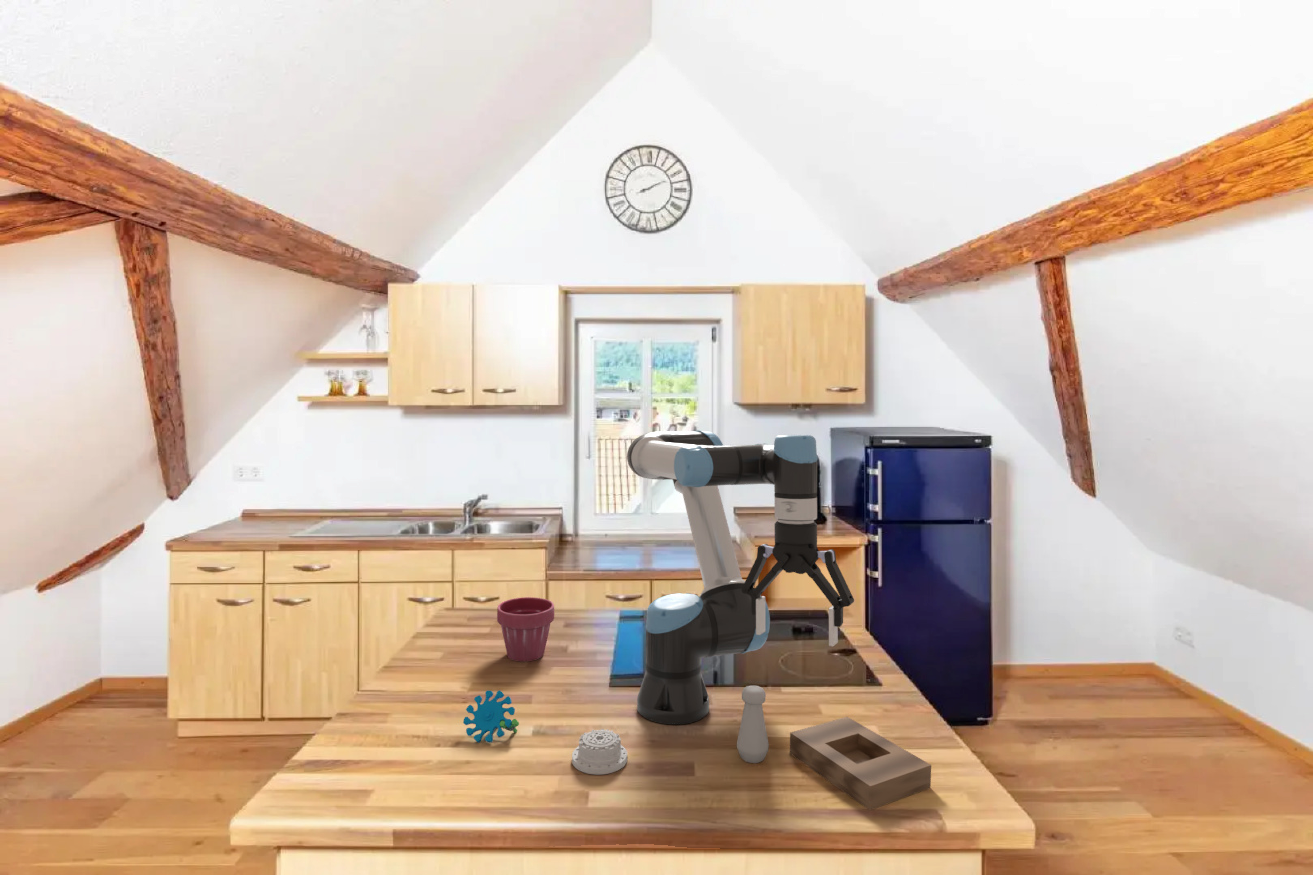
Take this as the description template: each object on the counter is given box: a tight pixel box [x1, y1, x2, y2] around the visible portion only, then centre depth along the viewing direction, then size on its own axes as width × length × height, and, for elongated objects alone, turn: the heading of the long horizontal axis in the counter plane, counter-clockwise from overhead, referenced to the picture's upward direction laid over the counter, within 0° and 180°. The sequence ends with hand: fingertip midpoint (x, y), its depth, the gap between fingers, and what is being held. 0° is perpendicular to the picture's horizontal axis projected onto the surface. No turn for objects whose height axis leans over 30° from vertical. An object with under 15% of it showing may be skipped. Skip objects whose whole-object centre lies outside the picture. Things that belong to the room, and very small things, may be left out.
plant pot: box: [496, 596, 555, 662], centre depth 178 cm, size 14×14×13 cm
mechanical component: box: [571, 728, 628, 775], centre depth 128 cm, size 10×4×10 cm
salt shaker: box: [736, 685, 770, 764], centre depth 129 cm, size 6×6×13 cm
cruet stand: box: [789, 716, 932, 811], centre depth 126 cm, size 20×14×4 cm
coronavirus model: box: [462, 689, 520, 743], centre depth 138 cm, size 11×6×10 cm
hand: (796, 638), depth 128 cm, fingers open, 13 cm apart
